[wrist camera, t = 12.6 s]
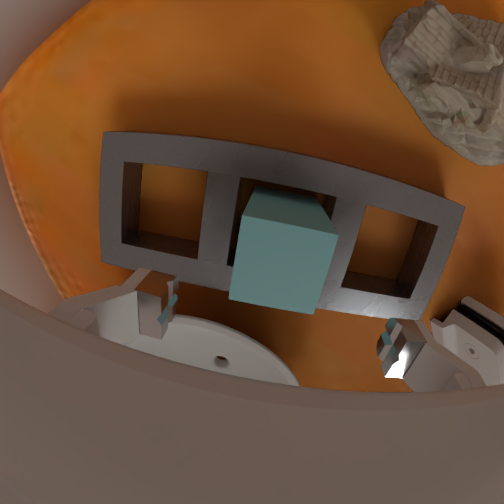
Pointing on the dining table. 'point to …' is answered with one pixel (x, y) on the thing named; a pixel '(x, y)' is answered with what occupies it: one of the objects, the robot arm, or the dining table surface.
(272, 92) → the dining table surface
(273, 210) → the square peg
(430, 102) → the ceramic cottage
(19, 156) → the dining table surface
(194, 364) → the dish
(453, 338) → the white arch segment
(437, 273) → the grey slotted board
